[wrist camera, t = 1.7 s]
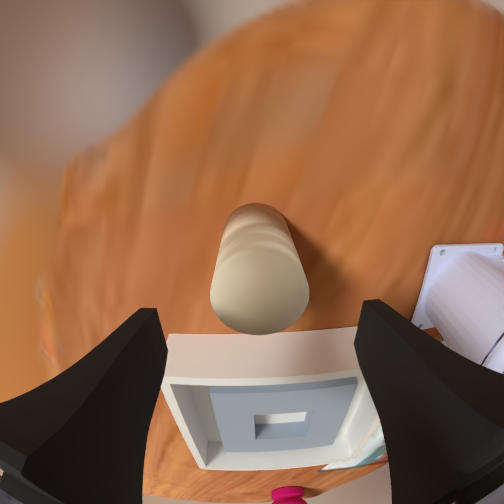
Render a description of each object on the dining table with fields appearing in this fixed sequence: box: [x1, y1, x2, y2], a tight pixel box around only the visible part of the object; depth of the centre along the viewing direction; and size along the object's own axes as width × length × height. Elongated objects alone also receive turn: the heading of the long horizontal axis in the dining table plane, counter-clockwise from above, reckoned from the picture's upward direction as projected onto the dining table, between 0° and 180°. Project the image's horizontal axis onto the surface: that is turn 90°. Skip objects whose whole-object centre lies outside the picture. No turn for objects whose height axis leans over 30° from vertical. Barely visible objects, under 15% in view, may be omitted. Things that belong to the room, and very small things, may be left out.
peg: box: [210, 203, 309, 335], centre depth 14 cm, size 4×4×7 cm
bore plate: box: [210, 376, 358, 452], centre depth 24 cm, size 12×12×2 cm
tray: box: [161, 326, 380, 470], centre depth 23 cm, size 18×18×4 cm
